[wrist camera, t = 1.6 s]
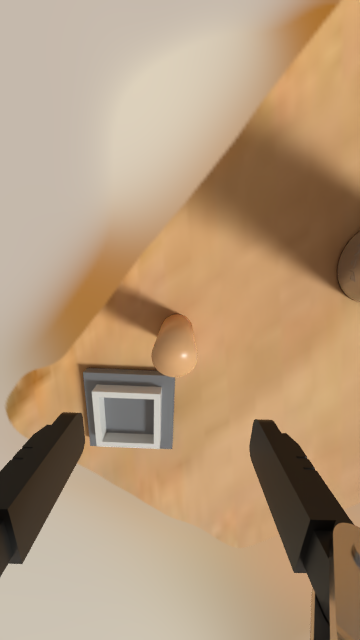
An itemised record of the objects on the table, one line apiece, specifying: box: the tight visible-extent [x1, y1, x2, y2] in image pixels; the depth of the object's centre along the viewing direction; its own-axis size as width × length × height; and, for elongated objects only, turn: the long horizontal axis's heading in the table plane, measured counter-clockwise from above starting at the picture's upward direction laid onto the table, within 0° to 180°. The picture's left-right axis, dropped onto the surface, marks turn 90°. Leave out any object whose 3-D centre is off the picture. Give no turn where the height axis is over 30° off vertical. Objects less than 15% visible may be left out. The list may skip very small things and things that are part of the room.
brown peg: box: [152, 314, 198, 377], centre depth 20 cm, size 4×4×8 cm
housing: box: [83, 368, 175, 449], centre depth 26 cm, size 12×12×3 cm
